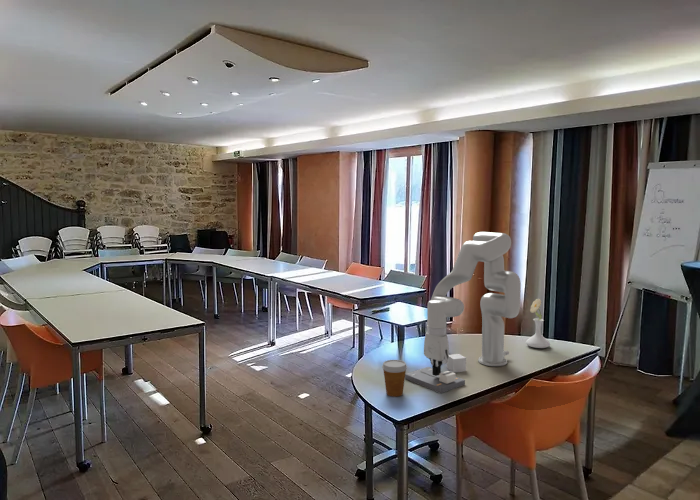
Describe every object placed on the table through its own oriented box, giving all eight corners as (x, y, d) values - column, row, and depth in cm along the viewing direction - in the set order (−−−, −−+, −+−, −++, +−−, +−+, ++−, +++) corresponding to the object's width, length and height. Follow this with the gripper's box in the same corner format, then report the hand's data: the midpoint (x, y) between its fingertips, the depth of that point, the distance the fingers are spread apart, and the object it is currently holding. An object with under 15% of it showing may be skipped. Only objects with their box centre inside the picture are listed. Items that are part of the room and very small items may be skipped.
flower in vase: (525, 342, 258) (527, 294, 256) (549, 344, 254) (551, 295, 252) (525, 349, 246) (526, 299, 243) (550, 352, 242) (552, 301, 239)
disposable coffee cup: (380, 389, 198) (380, 359, 197) (404, 388, 199) (404, 358, 198) (384, 399, 189) (384, 368, 188) (409, 397, 190) (409, 367, 188)
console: (428, 371, 218) (428, 366, 218) (464, 384, 202) (464, 379, 202) (404, 378, 209) (404, 373, 209) (440, 393, 194) (440, 387, 193)
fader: (447, 377, 203) (447, 369, 203) (455, 380, 200) (455, 372, 199) (439, 380, 200) (439, 372, 200) (446, 383, 197) (447, 375, 196)
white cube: (465, 371, 218) (466, 357, 217) (453, 372, 216) (453, 359, 215) (458, 366, 223) (459, 353, 223) (446, 368, 222) (446, 354, 221)
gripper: (416, 328, 206) (416, 371, 208) (444, 336, 194) (444, 382, 196) (429, 325, 211) (429, 367, 213) (457, 332, 199) (457, 377, 201)
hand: (436, 374), depth 205 cm, fingers closed
